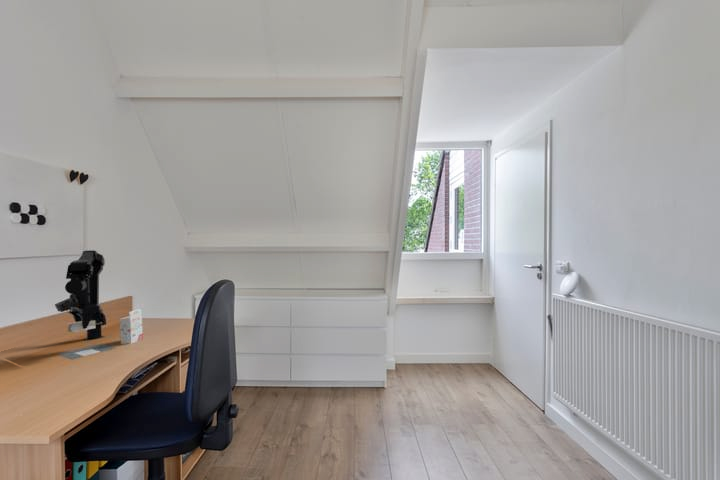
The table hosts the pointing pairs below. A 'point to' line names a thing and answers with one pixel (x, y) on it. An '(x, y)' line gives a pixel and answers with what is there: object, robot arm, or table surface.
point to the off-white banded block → (80, 326)
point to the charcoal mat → (86, 351)
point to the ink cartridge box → (131, 327)
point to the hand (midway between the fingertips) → (82, 327)
